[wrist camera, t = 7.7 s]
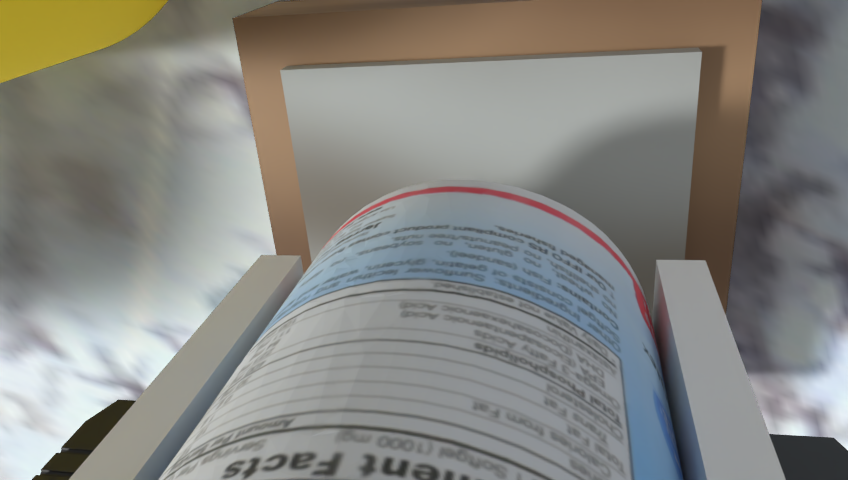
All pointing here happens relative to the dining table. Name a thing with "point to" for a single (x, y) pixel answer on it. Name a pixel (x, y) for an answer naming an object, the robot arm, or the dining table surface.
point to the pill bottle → (449, 354)
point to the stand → (508, 113)
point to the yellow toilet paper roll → (64, 30)
